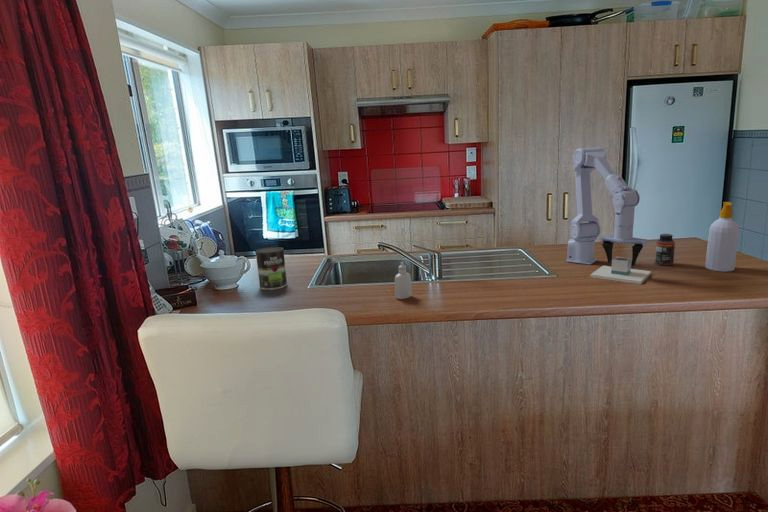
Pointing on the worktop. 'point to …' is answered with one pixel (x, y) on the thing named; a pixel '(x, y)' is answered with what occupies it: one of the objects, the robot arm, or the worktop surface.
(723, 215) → the soap bottle
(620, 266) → the sleeve
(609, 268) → the pin board
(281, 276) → the coffee can
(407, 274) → the eye dropper bottle
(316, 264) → the worktop surface
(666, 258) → the supplement bottle
